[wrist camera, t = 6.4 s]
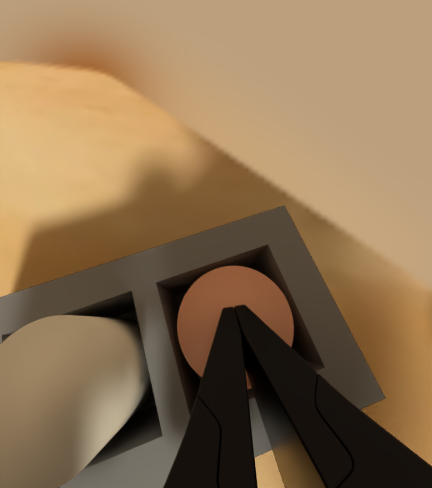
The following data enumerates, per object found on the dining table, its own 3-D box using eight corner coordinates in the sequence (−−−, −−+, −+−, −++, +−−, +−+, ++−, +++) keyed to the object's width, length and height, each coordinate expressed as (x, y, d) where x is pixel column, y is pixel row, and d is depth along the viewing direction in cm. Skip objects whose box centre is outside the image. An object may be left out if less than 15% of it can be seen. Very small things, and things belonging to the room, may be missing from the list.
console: (301, 360, 15) (385, 398, 7) (-4, 485, 13) (-319, 717, 5) (255, 255, 18) (284, 205, 10) (-4, 345, 15) (-215, 366, 8)
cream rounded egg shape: (170, 399, 10) (135, 455, 6) (73, 438, 10) (-42, 530, 5) (148, 305, 11) (107, 295, 7) (63, 335, 11) (-34, 343, 7)
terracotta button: (280, 348, 12) (314, 362, 8) (205, 378, 11) (197, 411, 7) (250, 274, 13) (264, 251, 9) (181, 298, 13) (164, 286, 9)
